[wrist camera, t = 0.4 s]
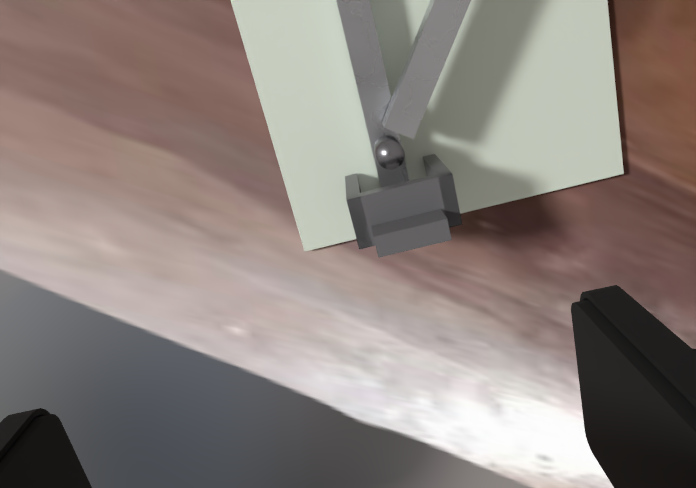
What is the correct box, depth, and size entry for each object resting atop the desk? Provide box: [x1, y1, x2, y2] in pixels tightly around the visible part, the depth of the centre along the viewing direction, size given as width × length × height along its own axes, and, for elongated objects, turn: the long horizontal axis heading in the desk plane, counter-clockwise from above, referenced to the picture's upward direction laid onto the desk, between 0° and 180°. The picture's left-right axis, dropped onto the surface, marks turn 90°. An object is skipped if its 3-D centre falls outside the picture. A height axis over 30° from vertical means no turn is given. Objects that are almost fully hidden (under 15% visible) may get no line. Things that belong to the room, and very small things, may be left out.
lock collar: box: [345, 154, 462, 257], centre depth 34 cm, size 3×6×8 cm, turn 104°
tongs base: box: [336, 0, 409, 188], centre depth 33 cm, size 22×3×6 cm, turn 14°
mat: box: [231, 0, 624, 251], centre depth 35 cm, size 26×22×1 cm
